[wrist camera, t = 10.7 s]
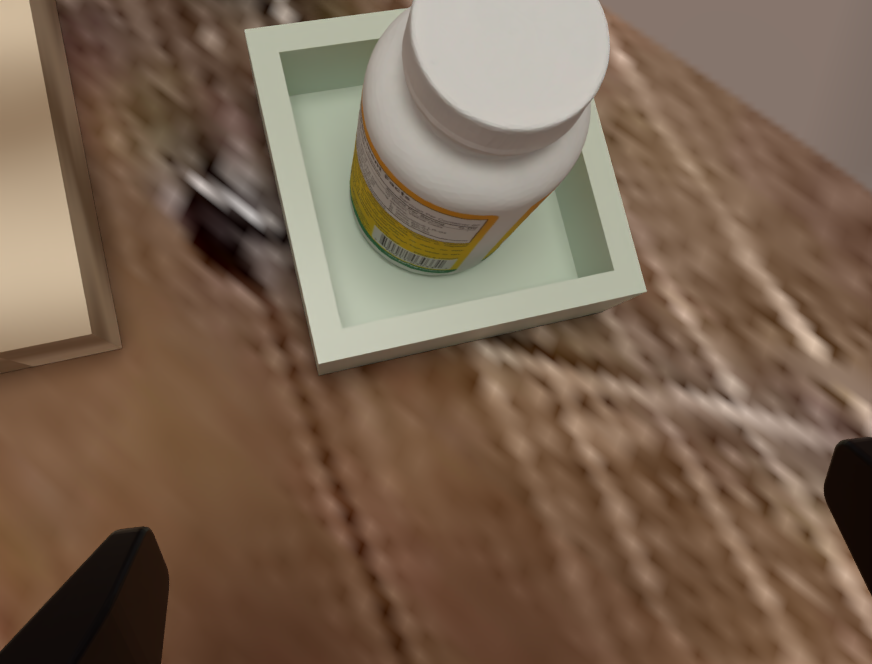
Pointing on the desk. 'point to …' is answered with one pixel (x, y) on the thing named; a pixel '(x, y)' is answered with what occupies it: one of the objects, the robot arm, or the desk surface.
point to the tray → (378, 277)
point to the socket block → (46, 203)
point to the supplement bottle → (471, 124)
